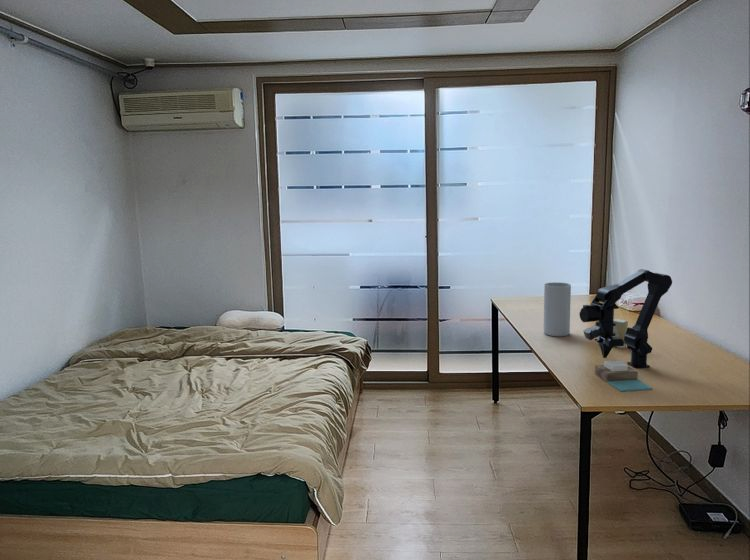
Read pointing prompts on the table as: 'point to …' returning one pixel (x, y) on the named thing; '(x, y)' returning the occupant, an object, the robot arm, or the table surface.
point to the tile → (616, 365)
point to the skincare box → (620, 330)
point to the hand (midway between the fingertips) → (604, 357)
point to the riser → (615, 374)
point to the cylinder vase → (557, 309)
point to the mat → (629, 385)
